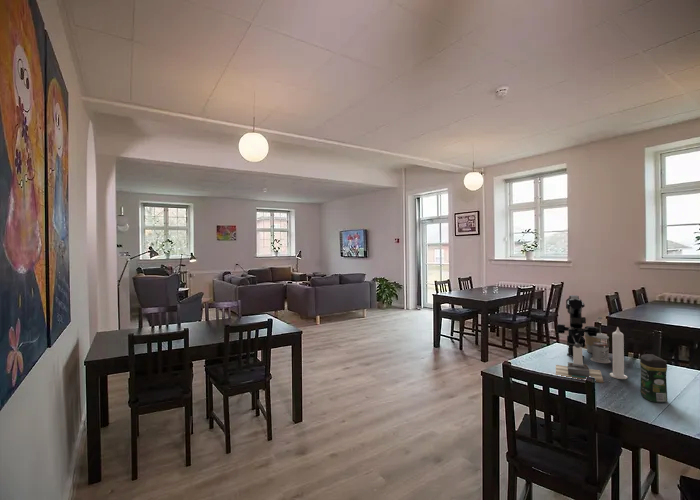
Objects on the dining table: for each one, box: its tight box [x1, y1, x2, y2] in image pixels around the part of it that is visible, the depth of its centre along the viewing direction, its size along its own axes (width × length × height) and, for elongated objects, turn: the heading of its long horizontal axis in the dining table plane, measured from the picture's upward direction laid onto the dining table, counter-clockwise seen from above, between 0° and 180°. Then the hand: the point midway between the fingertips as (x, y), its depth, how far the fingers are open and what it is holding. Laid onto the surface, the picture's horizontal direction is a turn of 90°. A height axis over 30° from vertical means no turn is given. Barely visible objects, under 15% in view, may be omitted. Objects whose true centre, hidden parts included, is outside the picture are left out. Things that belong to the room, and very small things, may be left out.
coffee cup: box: [583, 325, 603, 354], centre depth 221 cm, size 9×9×15 cm
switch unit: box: [555, 361, 604, 384], centre depth 186 cm, size 16×20×5 cm
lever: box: [572, 343, 584, 365], centre depth 188 cm, size 3×4×11 cm
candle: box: [609, 326, 628, 380], centre depth 182 cm, size 7×7×25 cm
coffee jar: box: [639, 353, 668, 404], centre depth 156 cm, size 10×8×19 cm
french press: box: [590, 316, 612, 364], centre depth 206 cm, size 10×12×25 cm
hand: (576, 344), depth 195 cm, fingers closed
